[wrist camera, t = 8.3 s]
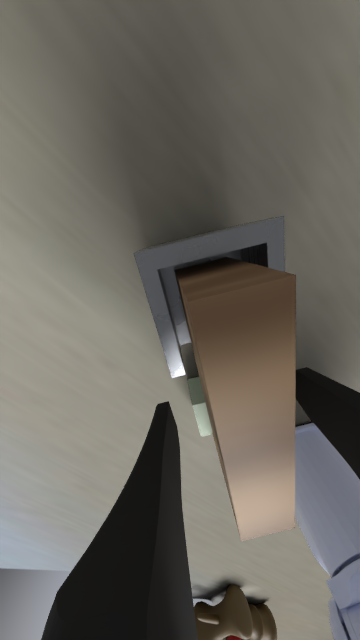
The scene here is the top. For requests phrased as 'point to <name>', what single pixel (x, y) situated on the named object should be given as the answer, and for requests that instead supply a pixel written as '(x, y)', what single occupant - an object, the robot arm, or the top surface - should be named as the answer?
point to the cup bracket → (161, 260)
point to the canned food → (234, 638)
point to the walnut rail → (247, 382)
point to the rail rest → (199, 406)
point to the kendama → (234, 618)
